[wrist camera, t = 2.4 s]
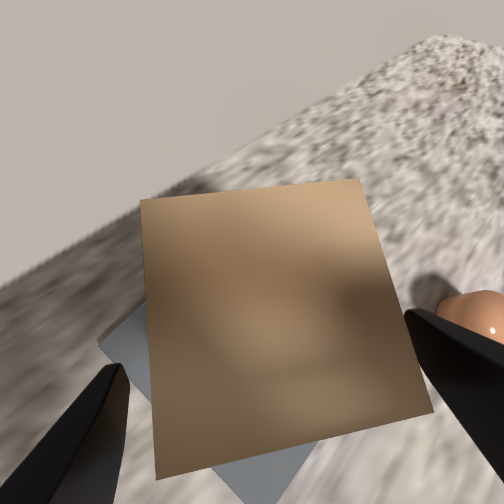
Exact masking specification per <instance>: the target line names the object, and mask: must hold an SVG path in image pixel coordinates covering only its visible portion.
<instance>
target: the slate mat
mask: <svg viewBox="0 0 504 504" xmlns="http://www.w3.org/2000/svg"><path fill="white" fill-rule="evenodd" d="M98 347H99V348H100V349H101V350H102V351H103V352H104V353H105V354H106V355H107V356H108V357H109V358H110V359H111V361H112V362H113V363H121V364H122V365H123V367H124V369H125V372H126V374H127V376H128V379H129V380H130V381H131V382H132V383H133V384H134V385H135V386H136V387H137V388H138V390H139V391H140V392H141V393H142V394H143V395H144V396H145V397H146V398H147V399H148V400H149V401H150V402H151V384H150V367H149V350H148V332H147V315H146V300H145V301H144V302H143V303H142V304H141V305H140V306H139V307H138V308H137V309H136V310H135V311H134V312H132V313H131V314H130V315H129V316H128V317H127V318H126V319H125V320H124V321H123V322H122V323H121V324H120V325H119V326H118V327H117V328H115V329H114V330H113V331H112V332H111V333H110V334H109V335H108V336H107V337H106V338H105V339H104V340H103V341H102V342H101V343H100V344H98ZM151 404H152V402H151ZM317 443H318V441H315V442H311V443H307V444H303V445H299V446H295V447H291V448H287V449H283V450H279V451H274V452H270V453H266V454H262V455H258V456H254V457H250V458H246V459H242V460H238V461H234V462H230V463H225V464H221V465H217V466H213V467H211V468H212V469H213V470H214V471H215V472H216V473H217V475H218V476H219V477H220V478H221V479H222V480H223V481H224V482H225V483H226V484H227V485H228V486H229V487H230V488H231V490H232V491H233V492H234V493H235V494H236V495H237V496H238V497H239V498H240V499H241V500H242V501H243V502H244V504H276V503H277V502H278V500H279V499H280V497H281V496H282V494H283V493H284V491H285V490H286V488H287V487H288V485H289V484H290V482H291V481H292V480H293V478H294V477H295V475H296V474H297V472H298V471H299V469H300V468H301V466H302V465H303V463H304V462H305V460H306V459H307V457H308V456H309V454H310V453H311V451H312V450H313V449H314V447H315V446H316V444H317Z"/></svg>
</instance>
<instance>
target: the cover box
mask: <svg viewBox="0 0 504 504" xmlns="http://www.w3.org/2000/svg"><path fill="white" fill-rule="evenodd" d="M140 211H141V228H142V245H143V263H144V280H145V297H146V315H147V332H148V350H149V367H150V384H151V402H152V419H153V437H154V454H155V471H156V480H160V479H164V478H168V477H172V476H176V475H181V474H185V473H189V472H193V471H197V470H201V469H205V468H209V467H213V466H217V465H221V464H225V463H230V462H234V461H238V460H242V459H246V458H250V457H254V456H258V455H262V454H266V453H270V452H274V451H279V450H283V449H287V448H291V447H295V446H299V445H303V444H307V443H311V442H315V441H319V440H323V439H328V438H332V437H336V436H340V435H344V434H348V433H352V432H356V431H360V430H364V429H368V428H372V427H377V426H381V425H385V424H389V423H393V422H397V421H401V420H405V419H409V418H413V417H417V416H421V415H426V414H430V413H434V410H433V407H432V404H431V400H430V397H429V394H428V391H427V388H426V385H425V382H424V379H423V375H422V372H421V369H420V366H419V363H418V360H417V357H416V354H415V351H414V347H413V344H412V341H411V338H410V335H409V332H408V329H407V326H406V323H405V319H404V316H403V313H402V310H401V307H400V304H399V301H398V298H397V294H396V291H395V288H394V285H393V282H392V279H391V276H390V273H389V270H388V266H387V263H386V260H385V257H384V254H383V251H382V248H381V245H380V242H379V238H378V235H377V232H376V229H375V226H374V223H373V220H372V217H371V213H370V210H369V207H368V204H367V201H366V198H365V195H364V192H363V189H362V185H361V182H360V179H359V178H355V179H345V180H335V181H325V182H315V183H305V184H295V185H285V186H275V187H265V188H255V189H245V190H235V191H225V192H215V193H205V194H195V195H185V196H175V197H165V198H155V199H145V200H140Z"/></svg>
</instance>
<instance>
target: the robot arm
mask: <svg viewBox="0 0 504 504" xmlns="http://www.w3.org/2000/svg"><path fill="white" fill-rule="evenodd" d="M404 319H405V323H406V326H407V329H408V332H409V335H410V338H411V341H412V344H413V347H414V351H415V354H416V357H417V360H418V363H419V365H420V366H421V368H422V370H423V371H424V373H425V375H426V376H427V378H428V379H429V381H430V382H431V383H432V385H433V386H434V388H435V389H436V390H437V392H438V393H439V395H440V396H441V397H442V399H443V400H444V401H445V403H446V404H447V406H448V407H449V408H450V410H451V411H452V413H453V414H454V415H455V417H456V418H457V419H458V421H459V422H460V424H461V425H462V426H463V428H464V429H465V430H466V432H467V433H468V435H469V436H470V437H471V439H472V440H473V442H474V443H475V444H476V446H477V447H478V448H479V450H480V451H481V453H482V454H483V455H484V457H485V458H486V459H487V461H488V462H489V464H490V465H491V466H492V468H493V469H494V471H495V472H496V473H497V475H498V476H499V477H500V479H501V480H502V482H503V483H504V344H502V343H499V342H497V341H495V340H492V339H490V338H488V337H485V336H483V335H481V334H479V333H476V332H474V331H472V330H469V329H467V328H465V327H462V326H460V325H458V324H455V323H453V322H451V321H448V320H446V319H444V318H442V317H439V316H437V315H435V314H432V313H430V312H428V311H425V310H423V309H421V308H413V309H408V310H406V311H405V313H404ZM129 394H130V382H129V379H128V376H127V374H126V372H125V369H124V367H123V365H122V364H121V363H113V364H108V365H105V366H104V367H103V368H102V369H101V370H100V372H99V373H98V374H97V375H96V376H95V377H94V379H93V380H92V381H91V382H90V383H89V384H88V386H87V387H86V388H85V389H84V390H83V391H82V393H81V394H80V395H79V396H78V397H77V398H76V400H75V401H74V402H73V403H72V404H71V405H70V407H69V408H68V409H67V410H66V411H65V412H64V414H63V415H62V416H61V417H60V418H59V419H58V421H57V422H56V423H55V424H54V425H53V426H52V428H51V429H50V430H49V431H48V432H47V433H46V435H45V436H44V437H43V438H42V439H41V440H40V442H39V443H38V444H37V445H36V446H35V447H34V449H33V450H32V451H31V452H30V453H29V454H28V456H27V457H26V458H25V459H24V460H23V461H22V462H21V464H20V465H19V466H18V467H17V468H16V469H15V471H14V472H13V473H12V474H11V475H10V476H9V478H8V479H7V480H6V481H5V482H4V483H3V485H2V486H1V487H0V504H113V502H114V497H115V492H116V487H117V482H118V477H119V472H120V467H121V462H122V457H123V451H124V445H125V436H126V426H127V415H128V404H129Z"/></svg>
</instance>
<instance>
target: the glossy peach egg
mask: <svg viewBox="0 0 504 504" xmlns="http://www.w3.org/2000/svg"><path fill="white" fill-rule="evenodd" d="M436 315H437V316H439V317H442V318H444V319H446V320H448V321H451V322H453V323H455V324H458V325H460V326H462V327H465V328H467V329H469V330H472V331H474V332H476V333H479V334H481V335H483V336H485V337H488V338H490V339H492V340H495V341H497V342H499V343H502V344H504V296H503V295H501V294H500V293H497V292H494V291H490V290H483V291H477V292H472V293H466V294H460V295H455V296H450V297H447V298H445V299H443V300H442V301H441V302H440V303H439V305H438V307H437V310H436Z"/></svg>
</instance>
